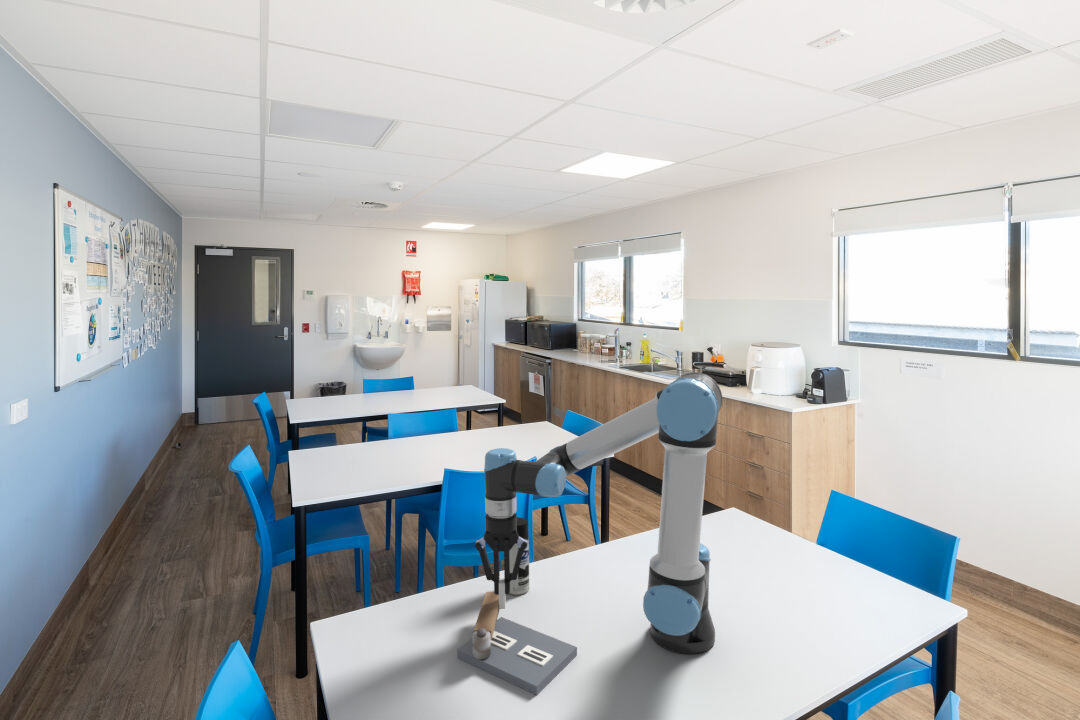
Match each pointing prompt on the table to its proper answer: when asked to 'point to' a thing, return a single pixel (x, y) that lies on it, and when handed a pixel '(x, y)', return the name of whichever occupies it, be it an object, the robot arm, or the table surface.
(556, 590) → the table surface
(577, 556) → the table surface
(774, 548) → the table surface
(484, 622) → the swing bar
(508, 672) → the label board
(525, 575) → the spray can
